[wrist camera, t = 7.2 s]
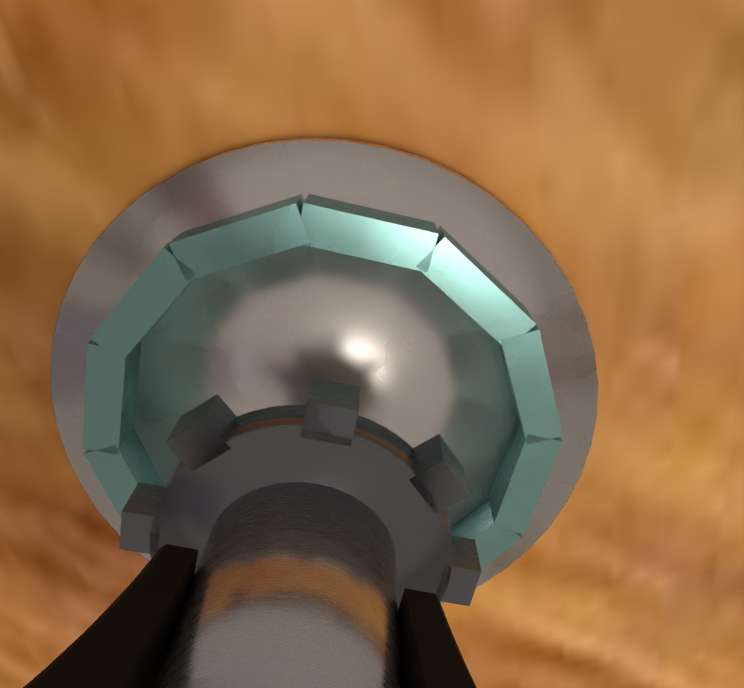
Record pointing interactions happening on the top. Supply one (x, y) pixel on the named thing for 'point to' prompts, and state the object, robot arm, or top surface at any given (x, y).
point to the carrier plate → (331, 325)
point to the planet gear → (300, 542)
